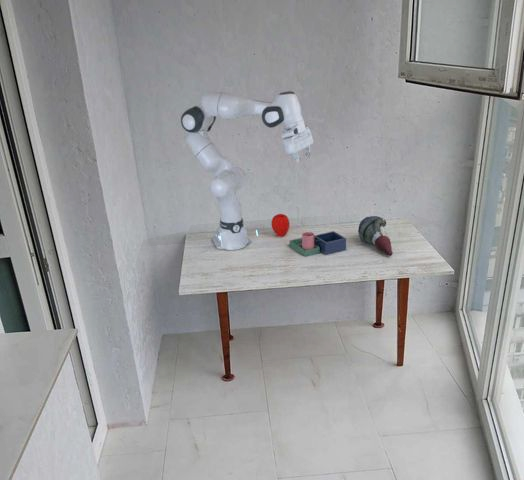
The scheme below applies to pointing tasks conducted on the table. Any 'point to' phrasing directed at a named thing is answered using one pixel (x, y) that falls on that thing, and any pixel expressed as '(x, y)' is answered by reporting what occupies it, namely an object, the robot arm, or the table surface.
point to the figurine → (375, 233)
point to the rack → (299, 248)
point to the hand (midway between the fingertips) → (303, 159)
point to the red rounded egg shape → (280, 224)
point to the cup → (308, 240)
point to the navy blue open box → (330, 242)
